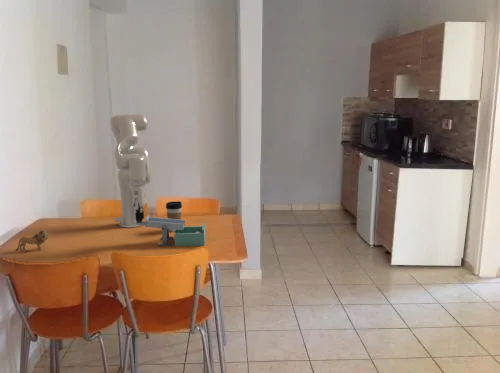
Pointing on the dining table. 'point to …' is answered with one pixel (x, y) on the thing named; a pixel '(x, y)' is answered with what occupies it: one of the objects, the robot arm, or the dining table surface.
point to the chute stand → (165, 237)
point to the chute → (162, 223)
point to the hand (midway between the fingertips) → (139, 219)
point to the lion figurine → (33, 240)
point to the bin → (190, 236)
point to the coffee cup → (174, 211)
